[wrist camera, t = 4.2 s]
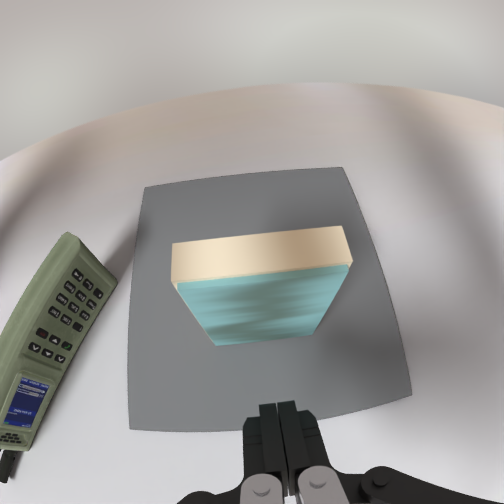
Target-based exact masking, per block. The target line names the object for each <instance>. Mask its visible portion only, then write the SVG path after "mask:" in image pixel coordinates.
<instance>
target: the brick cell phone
mask: <svg viewBox="0 0 504 504" xmlns="http://www.w3.org/2000/svg"><path fill="white" fill-rule="evenodd" d="M116 285H117V280H116V278H115V277H114V276H113V275H112V274H111V273H110V272H109V271H108V270H107V269H106V268H105V267H104V266H103V265H102V264H101V263H100V261H99V260H98V259H97V258H96V257H95V256H94V255H93V254H92V253H91V252H90V250H89V249H88V248H87V247H86V246H85V245H84V244H83V242H82V241H81V240H80V239H79V238H78V237H77V236H75V235H73V234H71V233H69V232H66V233H64V234H63V235H62V236H61V237H60V239H59V240H58V242H57V243H56V244H55V246H54V247H53V249H52V250H51V251H50V253H49V254H48V256H47V257H46V259H45V260H44V262H43V263H42V265H41V266H40V268H39V269H38V271H37V272H36V274H35V275H34V277H33V278H32V280H31V282H30V283H29V285H28V286H27V288H26V290H25V291H24V293H23V295H22V296H21V298H20V300H19V302H18V303H17V305H16V307H15V309H14V311H13V312H12V314H11V316H10V318H9V320H8V322H7V324H6V326H5V327H4V329H3V331H2V333H1V335H0V451H1V449H5V450H4V451H3V454H2V457H1V460H0V482H2V483H7V481H8V477H9V474H10V471H11V468H12V465H13V462H14V459H15V457H14V456H15V454H16V453H17V451H28V450H29V448H30V446H31V443H32V441H33V438H34V436H35V434H36V431H37V429H38V427H39V424H40V422H41V420H42V418H43V415H44V413H45V411H46V409H47V407H48V405H49V403H50V401H51V398H52V396H53V394H54V392H55V390H56V388H57V386H58V384H59V382H60V380H61V378H62V377H63V375H64V373H65V371H66V369H67V367H68V365H69V363H70V361H71V360H72V358H73V356H74V354H75V352H76V351H77V349H78V347H79V345H80V344H81V342H82V340H83V338H84V337H85V335H86V333H87V331H88V330H89V328H90V326H91V325H92V323H93V321H94V320H95V318H96V316H97V315H98V313H99V311H100V310H101V308H102V307H103V305H104V303H105V302H106V300H107V299H108V297H109V296H110V294H111V292H112V291H113V289H114V288H115V286H116Z"/></svg>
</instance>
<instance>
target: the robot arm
mask: <svg viewBox="0 0 504 504" xmlns="http://www.w3.org/2000/svg"><path fill="white" fill-rule="evenodd" d="M277 412H278V413H277ZM259 414H260V416H257V417H247V419H246V421H245V423H244V425H243V458H244V477H243V480H242V482H241V483H240V485H238V486H237V487H236V488H235V489H233V490H231V491H228V492H224V493H221V494H217V495H214V494H212V493H210V492H206V491H197V492H193V493H190V494H188V495H187V496H186V497H184V498H183V499H182V500H181V501H180V502H178V503H177V504H285V500H284V497H286V496H288V490H289V496H293V495H295V497H296V502H297V504H504V503H499V502H494V501H489V500H485V499H481V498H477V497H473V496H469V495H465V494H462V493H459V492H455V491H452V490H449V489H446V488H442V487H439V486H436V485H434V484H431V483H428V482H425V481H422V480H420V479H417V478H414V477H412V476H409V475H407V474H404V473H402V472H399V471H397V470H394V469H392V468H389V467H386V466H378V467H374V468H372V469H370V470H368V471H367V472H366V473H365V474H345V473H341V472H339V471H337V470H335V469H334V468H333V467H332V466H331V464H330V462H329V459H328V456H327V452H326V449H325V446H324V443H323V439H322V436H321V433H320V430H319V427H318V423H317V420H316V417H315V416H314V415H313V414H312V413H311V412H310V411H309V410H302V411H297V408H296V404H295V401H294V400H291V401H284V402H277V407H276V403H269V404H259Z"/></svg>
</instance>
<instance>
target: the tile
mask: <svg viewBox="0 0 504 504" xmlns="http://www.w3.org/2000/svg"><path fill="white" fill-rule="evenodd" d="M352 262H353V260H352V256H351V253H350V250H349V247H348V243H347V240H346V237H345V234H344V231H343V228H342V226H332V227H321V228H311V229H301V230H291V231H281V232H271V233H262V234H252V235H243V236H234V237H224V238H215V239H207V240H198V241H189V242H181V243H172V263H171V282H172V284H173V285H174V287H175V288H176V290H177V291H178V293H179V294H180V296H181V297H182V299H183V300H184V302H185V303H186V305H187V306H188V308H189V309H190V311H191V312H192V313H193V315H194V316H195V318H196V319H197V321H198V322H199V324H200V325H201V326H202V328H203V329H204V331H205V332H206V333H207V335H208V336H209V338H210V339H211V340H212V342H213V343H214V344H215V345H216V346H220V345H232V344H242V343H252V342H261V341H270V340H278V339H286V338H293V337H300V336H307V335H312V334H313V332H314V331H315V329H316V328H317V326H318V324H319V323H320V321H321V319H322V318H323V316H324V314H325V312H326V311H327V309H328V307H329V306H330V304H331V302H332V300H333V299H334V297H335V295H336V293H337V292H338V290H339V288H340V286H341V284H342V283H343V281H344V279H345V277H346V275H347V273H348V272H349V270H348V269H349V268H350V266H351V264H352Z"/></svg>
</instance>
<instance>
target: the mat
mask: <svg viewBox="0 0 504 504" xmlns="http://www.w3.org/2000/svg"><path fill="white" fill-rule="evenodd" d="M332 226H342V228H343V231H344V234H345V237H346V240H347V243H348V247H349V250H350V253H351V256H352V260H353V262H352V264H351V266H350V268H349V269H348V270H349V272H348V273H347V275H346V277H345V279H344V281H343V283H342V284H341V286H340V288H339V290H338V292H337V293H336V295H335V297H334V299H333V300H332V302H331V304H330V306H329V307H328V309H327V311H326V312H325V314H324V316H323V318H322V319H321V321H320V323H319V324H318V326H317V328H316V329H315V331H314V332H313V334H312V335H307V336H300V337H293V338H286V339H278V340H270V341H261V342H252V343H242V344H232V345H220V346H216V345H215V344H214V343H213V342H212V340H211V339H210V338H209V336H208V335H207V333H206V332H205V331H204V329H203V328H202V326H201V325H200V324H199V322H198V321H197V319H196V318H195V316H194V315H193V313H192V312H191V311H190V309H189V308H188V306H187V305H186V303H185V302H184V300H183V299H182V297H181V296H180V294H179V293H178V291H177V290H176V288H175V287H174V285H173V284H172V282H171V263H172V243H181V242H189V241H198V240H207V239H215V238H224V237H234V236H243V235H252V234H262V233H271V232H281V231H291V230H301V229H311V228H321V227H332ZM127 374H128V411H129V428H130V429H133V430H145V431H162V432H220V431H238V430H243V425H244V423H245V421H246V419H247V417H257V416H260V414H259V404H269V403H276V407H277V402H284V401H291V400H294V401H295V404H296V408H297V411H302V410H309V411H310V412H311V413H312V414H313V415H314V416H315V417H316V420H321V419H326V418H331V417H336V416H340V415H345V414H349V413H353V412H357V411H361V410H365V409H369V408H372V407H376V406H379V405H383V404H386V403H389V402H393V401H396V400H399V399H402V398H405V397H408V396H411V395H412V390H411V384H410V379H409V373H408V368H407V364H406V359H405V354H404V350H403V345H402V341H401V337H400V333H399V329H398V325H397V321H396V317H395V314H394V310H393V306H392V303H391V299H390V296H389V292H388V289H387V286H386V282H385V279H384V276H383V273H382V270H381V267H380V264H379V261H378V258H377V255H376V252H375V249H374V246H373V243H372V240H371V237H370V235H369V232H368V229H367V227H366V224H365V221H364V219H363V216H362V213H361V211H360V208H359V206H358V203H357V201H356V198H355V196H354V194H353V191H352V189H351V186H350V184H349V182H348V179H347V177H346V175H345V172H344V170H343V168H342V167H335V168H314V169H297V170H283V171H270V172H259V173H248V174H239V175H230V176H221V177H213V178H205V179H197V180H190V181H183V182H176V183H170V184H163V185H157V186H151V187H145V189H144V194H143V200H142V206H141V212H140V218H139V224H138V231H137V238H136V246H135V254H134V262H133V272H132V282H131V294H130V308H129V325H128V363H127ZM277 413H278V412H277Z"/></svg>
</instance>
